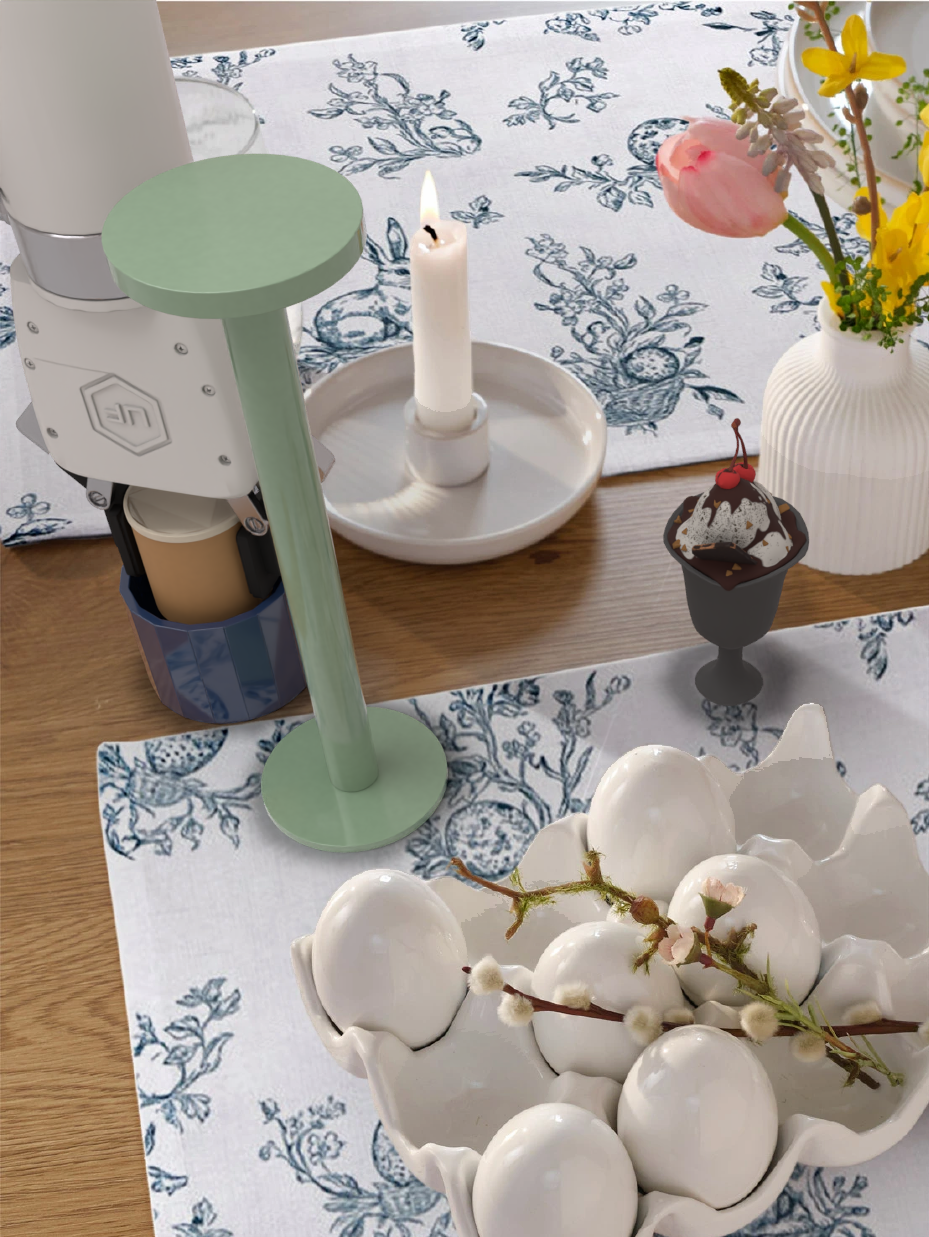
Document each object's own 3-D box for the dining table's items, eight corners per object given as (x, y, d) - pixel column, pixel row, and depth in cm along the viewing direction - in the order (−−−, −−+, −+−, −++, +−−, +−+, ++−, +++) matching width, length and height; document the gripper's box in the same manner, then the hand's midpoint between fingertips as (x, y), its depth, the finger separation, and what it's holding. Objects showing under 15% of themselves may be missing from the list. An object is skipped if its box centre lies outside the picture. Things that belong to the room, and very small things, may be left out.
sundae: (737, 623, 85) (750, 382, 74) (820, 697, 82) (847, 456, 70) (636, 677, 83) (633, 437, 71) (717, 755, 79) (727, 516, 68)
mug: (281, 744, 81) (254, 643, 75) (125, 714, 83) (88, 613, 77) (365, 590, 88) (345, 487, 83) (220, 565, 90) (192, 463, 84)
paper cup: (157, 692, 83) (100, 525, 74) (206, 614, 86) (157, 445, 78) (265, 713, 81) (220, 545, 73) (310, 633, 85) (272, 464, 77)
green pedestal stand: (234, 839, 77) (53, 274, 54) (306, 706, 83) (169, 141, 59) (412, 876, 75) (304, 308, 52) (473, 737, 81) (399, 167, 58)
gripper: (-125, 253, 64) (14, 591, 78) (274, 308, 61) (345, 651, 75) (-30, 159, 69) (85, 494, 83) (346, 205, 66) (401, 546, 79)
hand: (208, 566), depth 79 cm, fingers closed on paper cup, 5 cm apart
